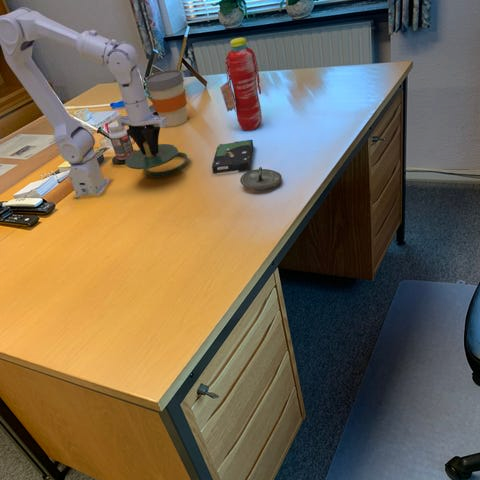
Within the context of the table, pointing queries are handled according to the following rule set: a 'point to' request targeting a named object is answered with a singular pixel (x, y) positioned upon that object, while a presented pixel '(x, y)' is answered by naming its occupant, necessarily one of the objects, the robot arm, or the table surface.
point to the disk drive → (233, 157)
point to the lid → (261, 179)
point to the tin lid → (151, 157)
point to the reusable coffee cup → (168, 96)
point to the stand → (118, 161)
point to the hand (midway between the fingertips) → (150, 153)
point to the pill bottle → (120, 141)
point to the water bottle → (242, 85)
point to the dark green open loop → (171, 171)
